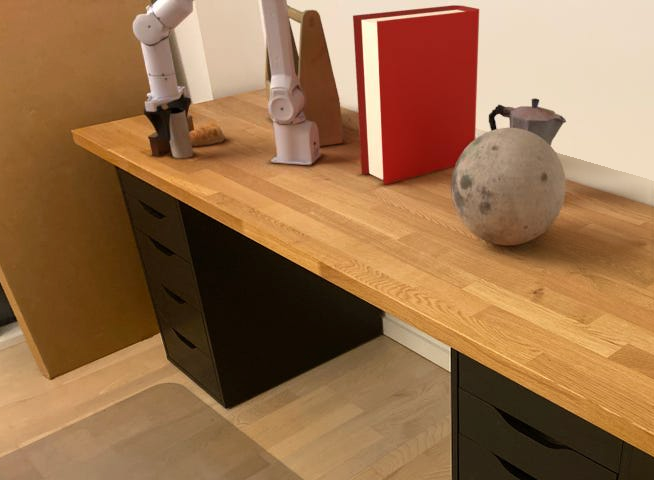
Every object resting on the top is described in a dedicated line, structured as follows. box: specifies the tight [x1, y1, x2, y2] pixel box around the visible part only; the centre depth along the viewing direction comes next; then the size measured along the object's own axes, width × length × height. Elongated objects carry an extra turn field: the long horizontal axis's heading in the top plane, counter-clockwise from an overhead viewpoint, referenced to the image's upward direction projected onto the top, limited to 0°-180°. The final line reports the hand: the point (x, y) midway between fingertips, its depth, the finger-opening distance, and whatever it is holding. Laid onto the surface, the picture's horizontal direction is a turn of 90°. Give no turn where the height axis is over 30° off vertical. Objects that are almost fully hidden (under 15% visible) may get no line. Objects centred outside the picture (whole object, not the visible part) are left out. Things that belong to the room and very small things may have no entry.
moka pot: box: [488, 98, 567, 147], centre depth 144 cm, size 10×15×20 cm, turn 78°
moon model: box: [450, 127, 567, 246], centre depth 126 cm, size 20×20×20 cm
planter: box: [164, 107, 194, 159], centre depth 164 cm, size 4×4×10 cm
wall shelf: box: [147, 114, 195, 157], centre depth 172 cm, size 2×18×4 cm, turn 171°
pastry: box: [189, 122, 225, 147], centre depth 174 cm, size 9×7×4 cm
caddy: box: [264, 4, 344, 147], centre depth 177 cm, size 29×11×30 cm, turn 28°
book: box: [352, 4, 480, 186], centre depth 155 cm, size 27×8×32 cm, turn 131°
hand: (173, 135), depth 165 cm, fingers open, 7 cm apart
